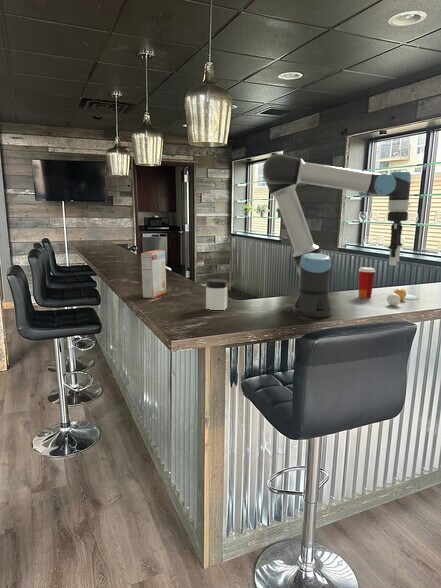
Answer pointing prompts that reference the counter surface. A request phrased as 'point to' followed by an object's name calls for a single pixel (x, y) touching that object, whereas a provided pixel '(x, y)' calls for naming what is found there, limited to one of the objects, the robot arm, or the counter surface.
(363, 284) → the paper cup
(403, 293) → the object ball
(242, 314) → the counter surface
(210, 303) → the jar
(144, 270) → the cracker box
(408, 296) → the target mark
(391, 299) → the cue ball
